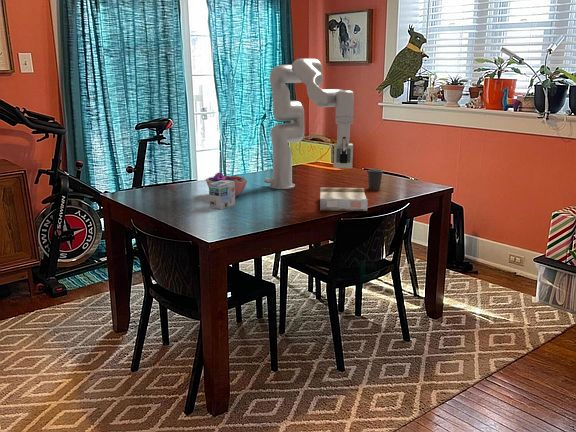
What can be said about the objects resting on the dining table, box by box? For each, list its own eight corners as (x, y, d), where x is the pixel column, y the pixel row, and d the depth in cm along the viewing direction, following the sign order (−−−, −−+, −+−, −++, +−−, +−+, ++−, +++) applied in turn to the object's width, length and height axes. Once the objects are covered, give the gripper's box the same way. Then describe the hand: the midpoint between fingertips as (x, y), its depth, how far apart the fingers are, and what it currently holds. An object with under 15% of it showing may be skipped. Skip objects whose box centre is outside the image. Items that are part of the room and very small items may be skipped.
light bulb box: (221, 209, 248) (220, 185, 245) (208, 207, 252) (208, 183, 249) (236, 204, 257) (235, 180, 254) (224, 202, 260) (223, 179, 258)
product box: (333, 165, 255) (334, 143, 252) (351, 166, 254) (352, 143, 252) (333, 168, 250) (334, 145, 247) (352, 168, 249) (353, 145, 247)
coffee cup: (372, 186, 293) (373, 167, 290) (385, 189, 287) (386, 169, 285) (362, 188, 287) (363, 169, 285) (375, 191, 282) (376, 171, 279)
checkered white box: (320, 211, 246) (320, 198, 244) (320, 199, 267) (320, 187, 265) (367, 211, 245) (367, 199, 243) (363, 199, 266) (364, 188, 264)
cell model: (238, 202, 261) (237, 177, 258) (199, 198, 267) (198, 174, 264) (253, 194, 276) (253, 171, 273) (215, 191, 283) (215, 168, 280)
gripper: (335, 117, 255) (334, 158, 260) (335, 122, 238) (334, 165, 243) (352, 118, 255) (350, 158, 259) (354, 122, 238) (352, 165, 243)
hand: (343, 161), depth 251 cm, fingers closed on product box, 5 cm apart
